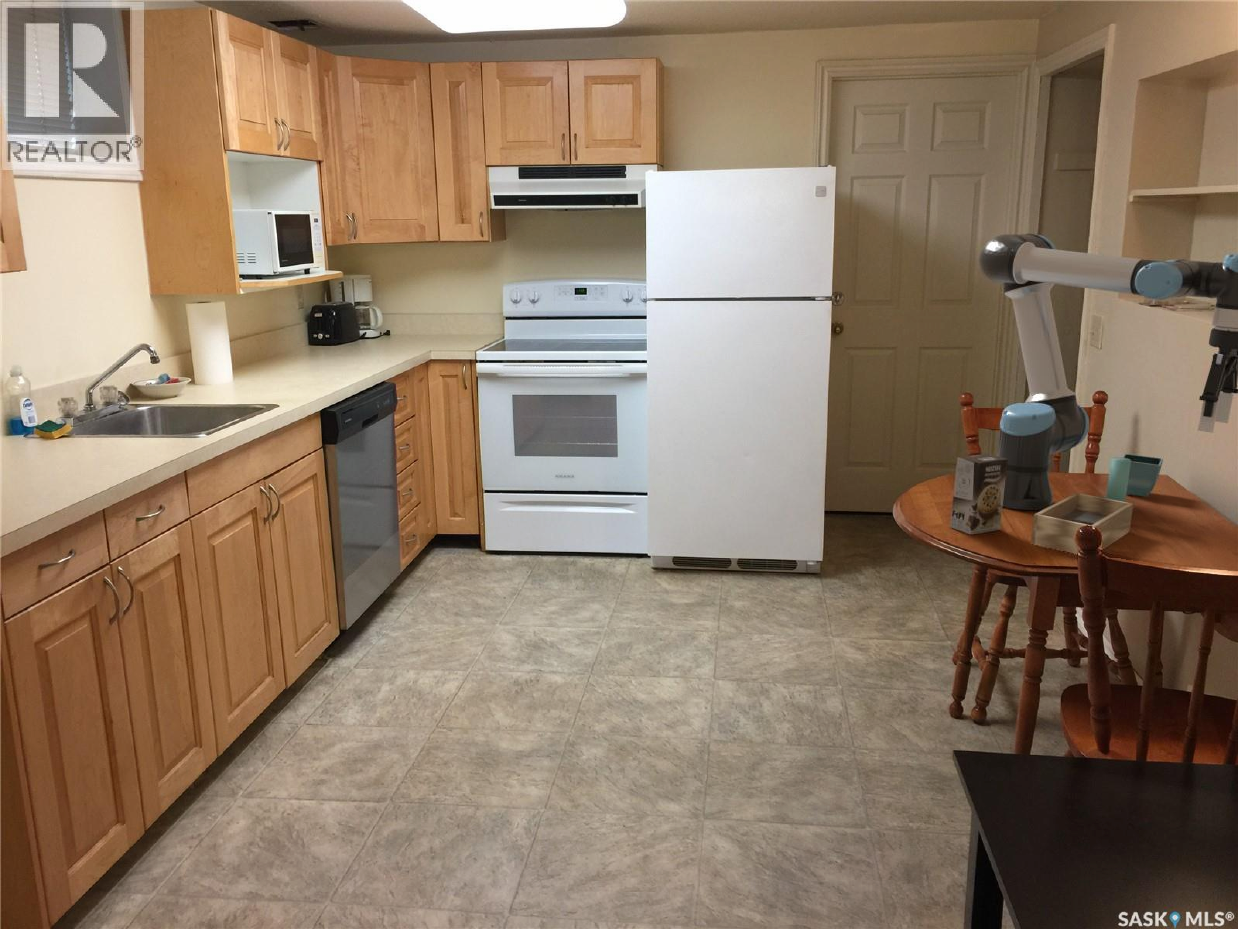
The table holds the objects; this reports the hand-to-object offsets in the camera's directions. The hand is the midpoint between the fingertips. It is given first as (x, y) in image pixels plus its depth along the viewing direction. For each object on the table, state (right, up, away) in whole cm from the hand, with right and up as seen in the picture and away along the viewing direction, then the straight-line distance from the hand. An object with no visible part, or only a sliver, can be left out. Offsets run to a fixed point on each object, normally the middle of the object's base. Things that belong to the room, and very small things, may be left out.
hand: (1213, 426), depth 214 cm
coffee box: (-51, -23, +3) cm, 55 cm away
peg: (-16, -21, +11) cm, 28 cm away
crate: (-30, -24, -3) cm, 38 cm away
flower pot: (0, -16, +32) cm, 36 cm away
